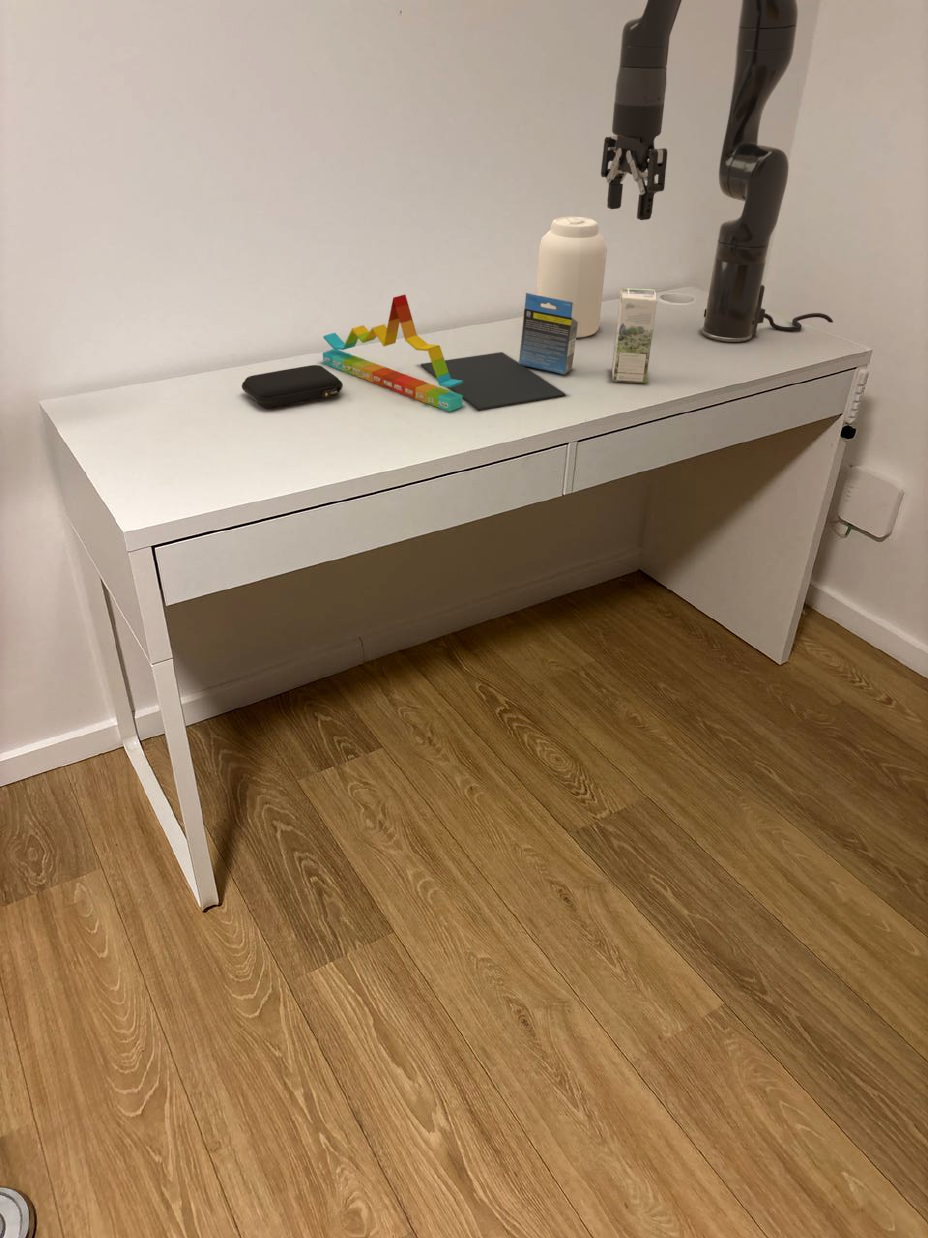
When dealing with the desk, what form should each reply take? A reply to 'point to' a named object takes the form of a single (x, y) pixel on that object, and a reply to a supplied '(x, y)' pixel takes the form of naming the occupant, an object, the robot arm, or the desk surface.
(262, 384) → the carrying case
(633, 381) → the syrup box
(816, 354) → the desk surface
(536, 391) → the mat
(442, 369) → the chart
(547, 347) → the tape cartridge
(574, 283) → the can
